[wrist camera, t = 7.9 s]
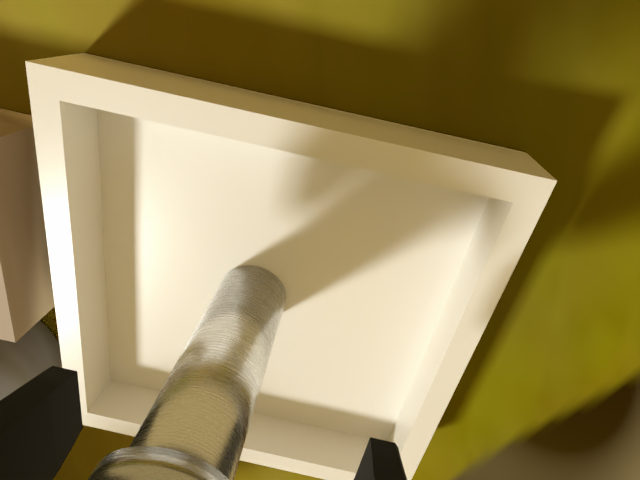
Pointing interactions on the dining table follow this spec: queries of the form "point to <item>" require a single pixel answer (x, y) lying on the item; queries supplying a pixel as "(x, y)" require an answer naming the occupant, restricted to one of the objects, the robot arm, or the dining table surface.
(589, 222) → the dining table surface
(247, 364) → the pin
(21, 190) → the block
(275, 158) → the tray
